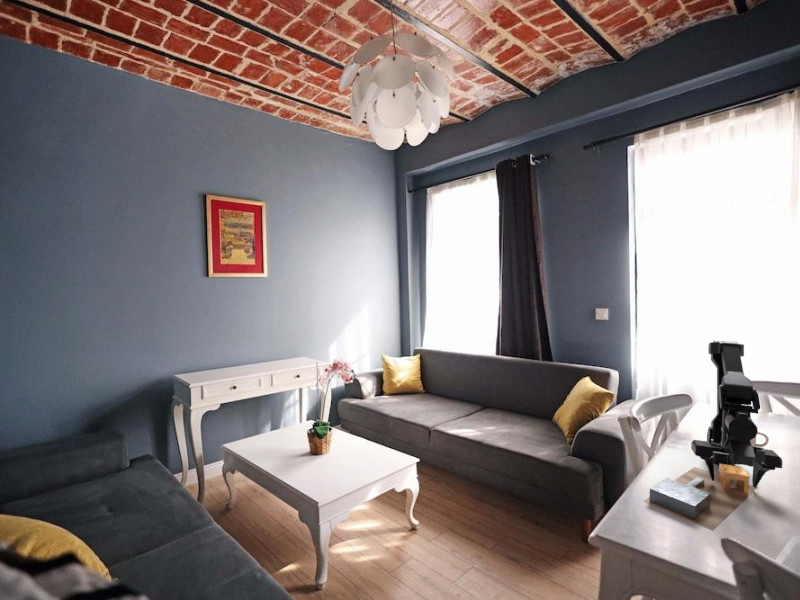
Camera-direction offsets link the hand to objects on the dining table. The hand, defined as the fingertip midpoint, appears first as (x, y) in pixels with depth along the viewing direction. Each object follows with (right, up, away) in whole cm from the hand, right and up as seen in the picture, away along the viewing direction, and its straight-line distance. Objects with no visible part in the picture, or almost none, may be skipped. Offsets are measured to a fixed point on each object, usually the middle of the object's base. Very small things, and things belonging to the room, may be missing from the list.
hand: (733, 483), depth 113 cm
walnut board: (-11, -3, -3) cm, 12 cm away
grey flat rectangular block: (-16, -1, -5) cm, 16 cm away
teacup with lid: (+26, -1, +27) cm, 37 cm away
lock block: (0, -1, 0) cm, 1 cm away
